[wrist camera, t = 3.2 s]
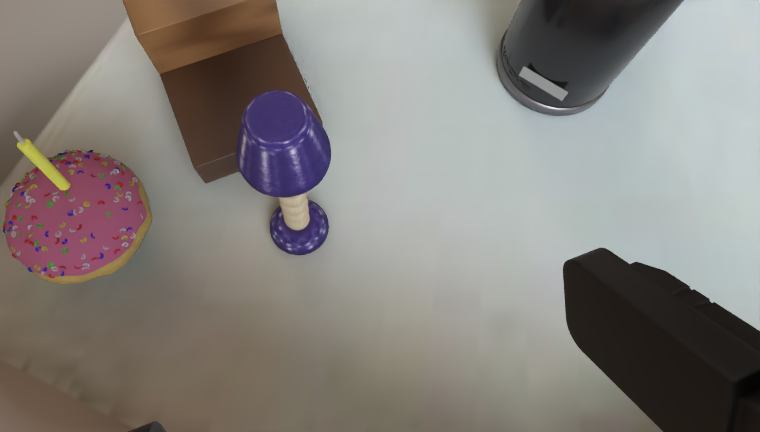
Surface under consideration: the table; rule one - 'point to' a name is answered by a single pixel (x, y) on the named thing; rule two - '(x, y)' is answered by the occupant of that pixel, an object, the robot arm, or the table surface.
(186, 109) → the tiered shelf
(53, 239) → the cupcake
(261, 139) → the toy lamp
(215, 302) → the table surface
